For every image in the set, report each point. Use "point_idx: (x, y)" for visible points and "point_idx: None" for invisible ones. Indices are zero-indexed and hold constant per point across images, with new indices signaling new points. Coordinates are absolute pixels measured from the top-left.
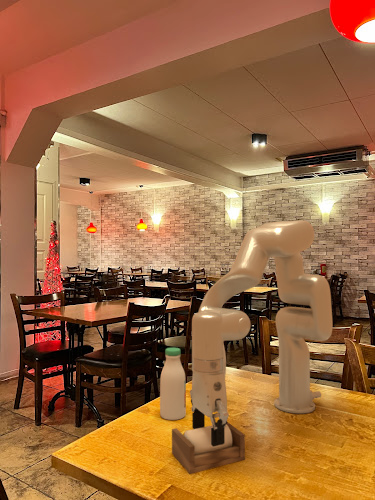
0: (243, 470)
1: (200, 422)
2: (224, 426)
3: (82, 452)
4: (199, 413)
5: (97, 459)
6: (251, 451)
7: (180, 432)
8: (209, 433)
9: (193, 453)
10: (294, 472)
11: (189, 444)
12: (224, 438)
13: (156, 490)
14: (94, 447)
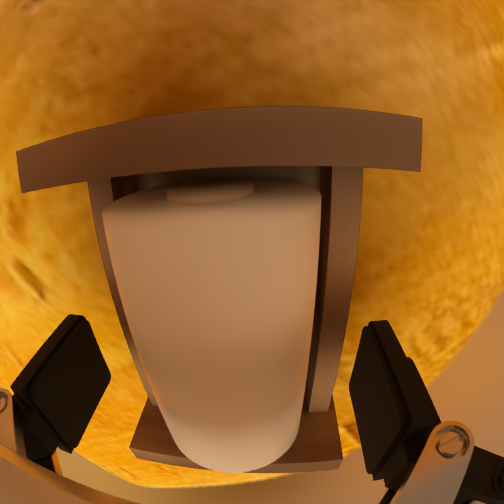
0: (427, 194)
1: (81, 369)
2: (464, 438)
3: (129, 472)
4: (53, 422)
5: (161, 472)
6: (283, 34)
7: (179, 457)
8: (272, 402)
9: (337, 434)
10: (499, 31)
11: (317, 467)
12: (398, 341)
13: (341, 447)
14: (110, 458)
